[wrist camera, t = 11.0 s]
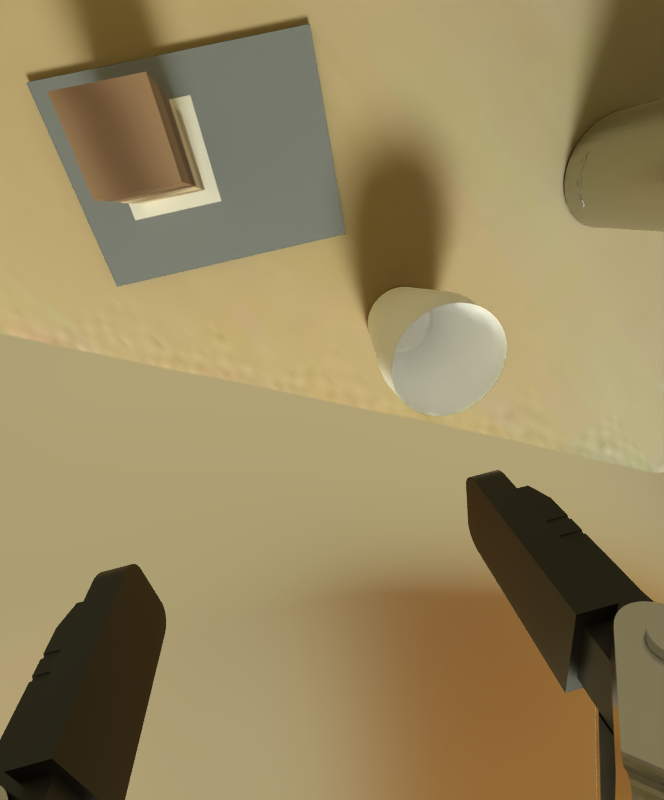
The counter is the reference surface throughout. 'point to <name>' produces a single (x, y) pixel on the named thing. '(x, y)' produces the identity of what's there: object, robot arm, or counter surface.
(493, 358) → the cup
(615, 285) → the counter surface
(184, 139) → the maple block
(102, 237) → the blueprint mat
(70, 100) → the walnut block
